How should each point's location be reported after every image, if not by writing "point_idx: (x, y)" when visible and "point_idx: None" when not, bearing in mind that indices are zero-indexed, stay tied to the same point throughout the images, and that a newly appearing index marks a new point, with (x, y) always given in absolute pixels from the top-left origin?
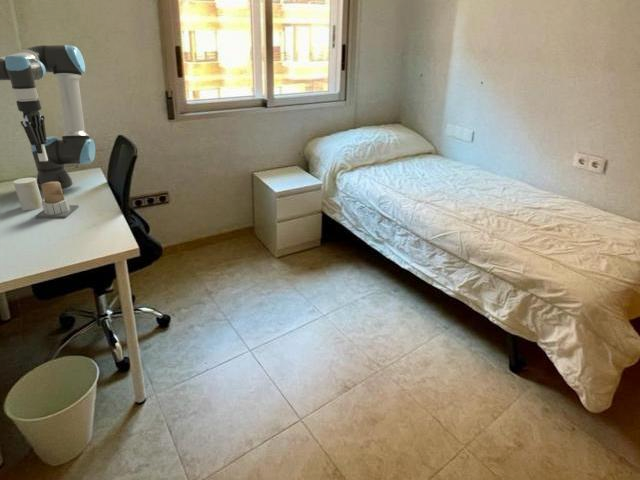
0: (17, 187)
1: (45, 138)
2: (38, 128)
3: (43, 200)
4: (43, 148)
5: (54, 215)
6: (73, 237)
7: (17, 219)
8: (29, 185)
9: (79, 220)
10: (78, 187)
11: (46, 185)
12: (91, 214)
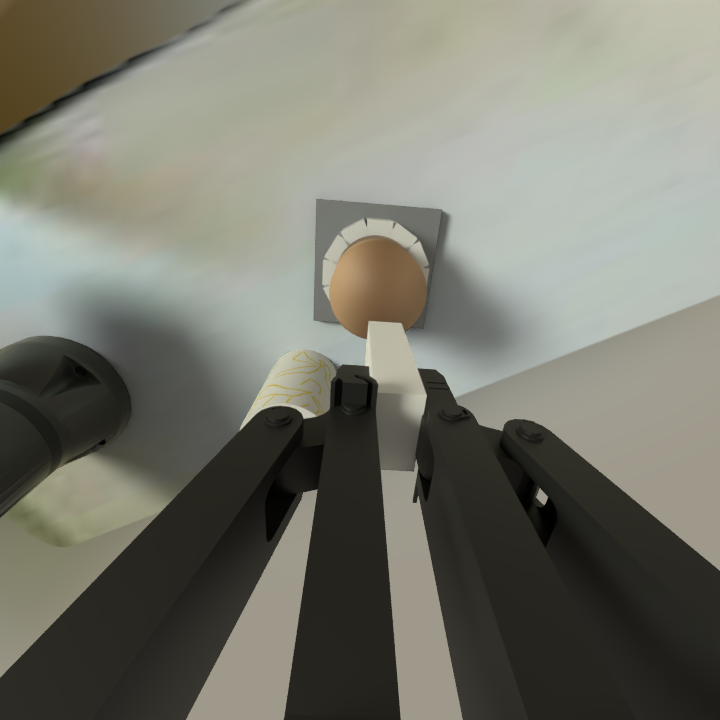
0: None
1: (271, 428)
2: (391, 679)
3: None
4: (410, 371)
5: (431, 257)
6: (681, 84)
7: None
8: (318, 408)
9: (482, 132)
10: (67, 295)
11: (398, 307)
12: (416, 97)
